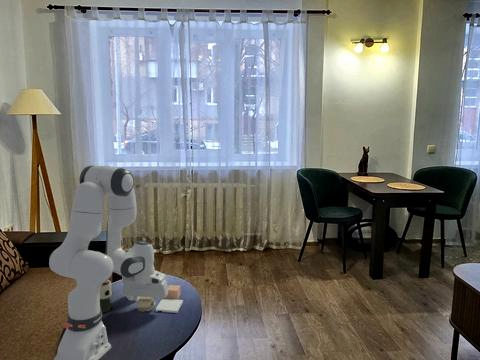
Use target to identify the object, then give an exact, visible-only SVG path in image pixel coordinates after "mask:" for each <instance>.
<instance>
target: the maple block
mask: <svg viewBox="0 0 480 360" xmlns="http://www.w3.org/2000/svg"><path fill="white" fill-rule="evenodd" d="M152 301H154V299H153V297H141V298H140V299H139V300H138V305H137V311H138V312H144V311H150V310H152V309H153V308H154V306H151V302H152ZM152 307H153V308H152ZM150 312H151V311H150Z"/></svg>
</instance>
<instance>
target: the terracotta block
mask: <svg viewBox="0 0 480 360" xmlns="http://www.w3.org/2000/svg"><path fill="white" fill-rule="evenodd" d="M167 286H168V294H167V296H166V297H165V299H175V300H179V298H180V296H181V293H182V291H181V285H177V284H176V285H175V284H169V285H167Z"/></svg>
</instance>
